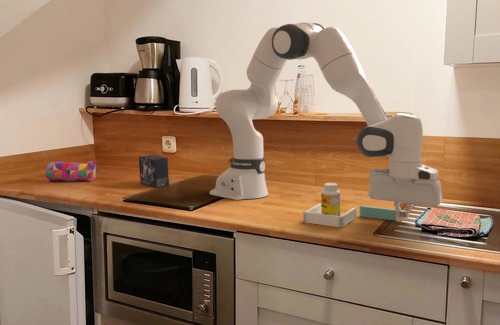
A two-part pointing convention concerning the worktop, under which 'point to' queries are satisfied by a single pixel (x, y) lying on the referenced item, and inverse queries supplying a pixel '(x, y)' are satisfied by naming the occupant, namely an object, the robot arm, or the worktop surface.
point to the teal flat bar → (378, 212)
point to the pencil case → (71, 171)
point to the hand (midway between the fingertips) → (403, 216)
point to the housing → (328, 217)
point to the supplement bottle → (330, 199)
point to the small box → (154, 171)
